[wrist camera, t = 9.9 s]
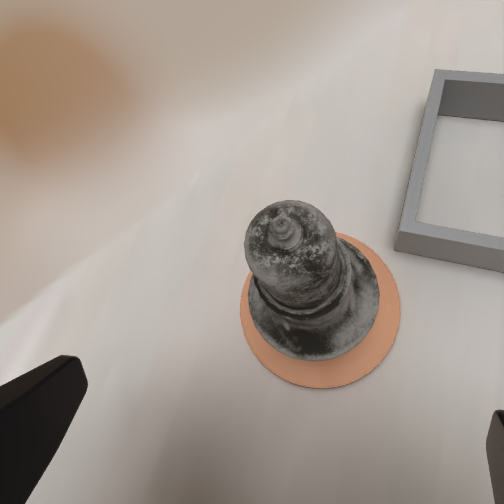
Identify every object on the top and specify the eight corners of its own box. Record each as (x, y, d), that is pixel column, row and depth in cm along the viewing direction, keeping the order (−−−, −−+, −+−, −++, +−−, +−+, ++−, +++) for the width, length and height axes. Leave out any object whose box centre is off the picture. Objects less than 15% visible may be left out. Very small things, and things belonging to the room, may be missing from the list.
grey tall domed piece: (336, 236, 23) (319, 87, 12) (399, 329, 20) (452, 255, 9) (245, 289, 23) (142, 194, 12) (297, 387, 21) (230, 383, 10)
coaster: (379, 410, 20) (380, 411, 19) (225, 361, 23) (220, 360, 22) (412, 253, 22) (415, 247, 21) (268, 224, 25) (264, 218, 24)
